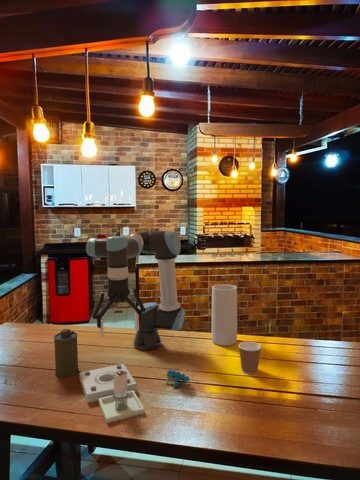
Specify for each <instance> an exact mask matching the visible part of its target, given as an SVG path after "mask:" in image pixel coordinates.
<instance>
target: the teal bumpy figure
mask: <svg viewBox="0 0 360 480" xmlns="http://www.w3.org/2000/svg"><path fill="white" fill-rule="evenodd" d="M165 375H166V379H167V380H166V385H169V382H170V380H171V381H175V382H174V385H173V388H175V389H177V385H178V383H179V381H181V382H186V383H189V382H190V378H189V376H188V375H186V374H185V373H181V372H180V371H175V370H173V369H172V370H168V371H167V372H166V374H165Z"/></svg>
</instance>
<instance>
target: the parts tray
mask: <svg viewBox="0 0 360 480" xmlns="http://www.w3.org/2000/svg"><path fill="white" fill-rule="evenodd" d="M127 393H128V394H129V398H128V407H127V409H125V410H123V411H117V410H115V408H114V400H113V395H112V396H107V397H103V398H99V401H98V404H99V408H100V410H101V413H102V416H103V418H104V421H105V423H106V425H107V424H112V423H115V422H119V421H123V420H125V419H129V418H133V417H138V416H141V415H144V414H145V406H144V405H143V403H142V402H141V401H140V399H139V397H138V396H137V394H136V392H134V391H129V392H127Z"/></svg>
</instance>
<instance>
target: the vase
mask: <svg viewBox="0 0 360 480" xmlns="http://www.w3.org/2000/svg"><path fill="white" fill-rule="evenodd" d="M210 333H211V334H210V335H211V342H212V343H213V344H215V345H217V346H221V347H228V346H234V345H235V344H236V343H237V340H238V287H237V285H234V284H224V283H223V284H215V285H212V286H211V332H210Z"/></svg>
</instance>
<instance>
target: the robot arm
mask: <svg viewBox="0 0 360 480" xmlns="http://www.w3.org/2000/svg"><path fill="white" fill-rule="evenodd" d="M181 245H182V244H181V240H180V236H179V234H178V233H177V232H175V231H171V230H170V231H169V230H145V231H139V232H133V233H130V234H129V235H124V236H123V235H115V236H109V237H106V238H105V237H103V238H96V237H95V238H89V239H88V240H87V242H86V245H85V252H86V254H87V255H88V256H89V257H93V258H106V260H107V278H108V279H107V289H108V290H107V292H104V291H100V292H99V297H98V299H97V301H96V304H95V306H94V308H93V311H92V313H91V316H90V317H92V320H96V327H97V328H98V329H99V336H100V337H101V338H104V337H105V334H104V319H103V317H104V315H105V314H106V313H107V312H108V310H110V307H111V306H112V305H113V304H119V303H124V302H126V303H128V305H130V307H131V308H133V310H135V312H134V329H135V330H136V333H135V336H134V338H133V339H134V340H133V348H135V349H136V350H139V351H153V350H156V349H159V348H160V347H161V346H162V339H161V337H160V334H159V331H158V330H168V331H169V330H170V331H179V330H181V329H182V328H183V325H184V321H185V314H186V311H185V309H184V308H182V307H181V303H180V302H178V291H177V277H176V276H177V275H176V263H175V262H176V259H177V258H178V255H179V254H180V253H181V247H182V246H181ZM141 253H145V254H153V255H154V259H155V260H156V261H157V266H158V278H159V289H160V290H159V292H160V301H161V303H159V305H158V303H157V302H144V303H143V302H142V301H141V299H140V297H139V294H138V289H136V288H135V287H132V288H131V289H129V263H128V262H129V261H128V260H129V259H134V258H136V257H138V256H140V254H141ZM130 294H131V295H132V296H133V297H134V300H135V301H136V303H137V305H138V306H137V305H136V304H135V303H134V302H133V301H132V300H131V299H130V298H129V297H128V296H129V295H130ZM107 297H108V299H107V301H106V302H105V304H104V305H103V302H104V300H105V299H106V298H107ZM102 305H103V306H102Z"/></svg>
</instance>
